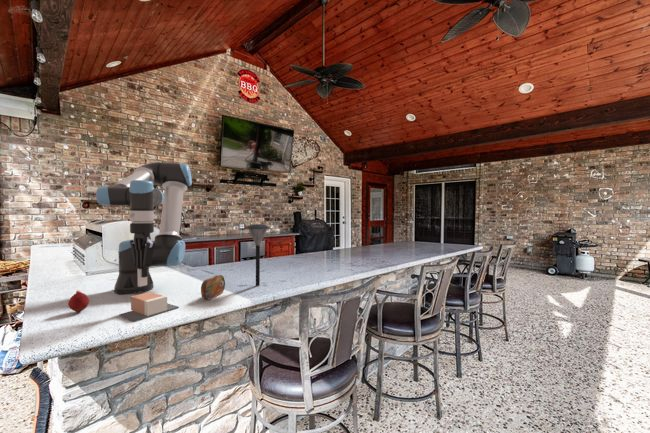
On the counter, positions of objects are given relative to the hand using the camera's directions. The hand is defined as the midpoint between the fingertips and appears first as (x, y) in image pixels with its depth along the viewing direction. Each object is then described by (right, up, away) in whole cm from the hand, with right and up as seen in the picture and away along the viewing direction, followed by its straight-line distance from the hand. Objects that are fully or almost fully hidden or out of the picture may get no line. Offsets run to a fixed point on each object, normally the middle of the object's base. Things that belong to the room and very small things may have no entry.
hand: (142, 285), depth 112 cm
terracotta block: (-1, -6, +1) cm, 6 cm away
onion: (-21, -9, -3) cm, 23 cm away
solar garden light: (+35, -8, +36) cm, 51 cm away
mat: (+4, -9, -2) cm, 10 cm away
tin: (+20, -9, +18) cm, 28 cm away
